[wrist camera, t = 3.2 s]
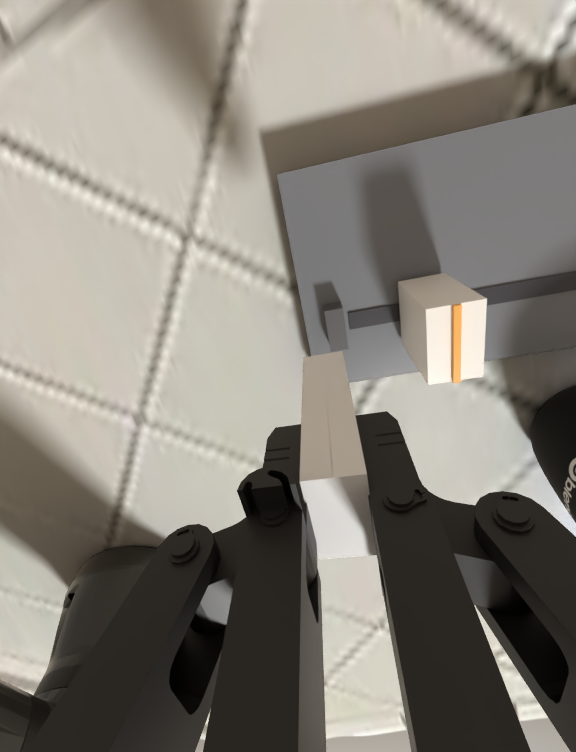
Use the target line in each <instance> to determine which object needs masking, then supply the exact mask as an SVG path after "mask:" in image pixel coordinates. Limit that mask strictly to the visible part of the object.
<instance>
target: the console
mask: <svg viewBox="0 0 576 752" xmlns="http://www.w3.org/2000/svg"><path fill="white" fill-rule="evenodd" d="M277 179H278V184H279V190H280V195H281V200H282V205H283V211H284V216H285V221H286V226H287V232H288V237H289V242H290V247H291V253H292V258H293V263H294V269H295V274H296V279H297V284H298V290H299V295H300V300H301V305H302V311H303V316H304V321H305V326H306V332H307V337H308V342H309V348H310V353H311V356H315V355H321V354H327V353H334V352H340V351H342V352H343V357H344V362H345V367H346V372H347V377H348V382H349V383H350V382H356V381H363V380H369V379H375V378H382V377H388V376H394V375H401V374H407V373H414V372H420V371H419V370H418V368H417V366H416V365H415V363H414V362H413V360H412V359H411V357H410V355H409V354H408V352H407V351H406V349H405V348H404V346H403V344H402V339H401V323H400V308H399V293H398V282H399V281H404V280H409V279H414V278H420V277H425V276H430V275H436V274H441V273H445V274H447V275H449V276H450V277H452V278H454V279H455V280H457V281H459V282H460V283H462V284H464V285H465V286H467V287H469V288H470V289H472V290H474V291H475V292H477V293H479V294H480V295H482V296H483V297H485V298H487V309H486V330H485V351H484V361H490V360H496V359H503V358H509V357H515V356H522V355H528V354H534V353H541V352H547V351H553V350H560V349H566V348H572V347H576V104H575V105H570V106H566V107H562V108H557V109H553V110H549V111H545V112H540V113H536V114H532V115H528V116H523V117H519V118H515V119H511V120H506V121H502V122H498V123H494V124H489V125H485V126H481V127H477V128H472V129H468V130H464V131H459V132H455V133H451V134H447V135H442V136H438V137H434V138H430V139H425V140H421V141H417V142H413V143H408V144H404V145H400V146H396V147H391V148H387V149H383V150H379V151H374V152H370V153H366V154H361V155H357V156H353V157H349V158H344V159H340V160H336V161H332V162H327V163H323V164H319V165H315V166H310V167H306V168H302V169H298V170H293V171H289V172H285V173H281V174H277Z"/></svg>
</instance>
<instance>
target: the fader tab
mask: <svg viewBox="0 0 576 752" xmlns="http://www.w3.org/2000/svg"><path fill="white" fill-rule="evenodd" d="M398 293H399V308H400V323H401V339H402V344H403V346H404V348H405V349H406V351H407V352H408V354H409V355H410V357H411V359H412V360H413V362H414V363H415V365H416V366H417V368H418V370H419V371H420V373H421V374H422V376H423V377H424V379H425V381H426V382H427V384H428V385H431V384H437V383H444V382H451V381H452V382H453V383H460V382H461V380H464V379H470V378H477V377H483V373H484V351H485V330H486V309H487V298H485V297H483V296H482V295H480V294H479V293H477V292H475V291H474V290H472V289H470V288H469V287H467V286H465V285H464V284H462V283H460V282H459V281H457V280H455V279H454V278H452V277H450V276H449V275H447V274H445V273H441V274H436V275H430V276H425V277H420V278H414V279H409V280H404V281H399V282H398Z"/></svg>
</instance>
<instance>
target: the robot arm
mask: <svg viewBox="0 0 576 752" xmlns="http://www.w3.org/2000/svg"><path fill="white" fill-rule="evenodd" d="M237 492H238V495H239V497H240V500H241V503H242V506H243V508H244V511H245V514H246V518H244V519H243V520H242V521H240V522H239V523H237V524H235V525H233V526H231V527H228V528H226V529H223V530H220V531H218V532H215V533H213V534H212V532H211V531H210V530H209V529H208V528H207V527H205V526H202V525H200V524H196V525H187V526H185V527H182V528H180V529H177V530H176V531H175V532H173V533H172V534H170V535H169V536H168V537H167V538H166V539H165V540H164V541H163V543H162V544H161V545H160V546H159V548H158V549H155V548H148V547H121V548H115V549H110V550H106V551H103V552H101V553H98V554H96V555H94V556H93V557H91V558H90V559H88V560H87V561H86V562H85V563H84V564H83V565H82V567H81V568H80V570H79V571H78V573H77V575H76V577H75V578H74V580H73V582H72V583H71V585H70V587H69V589H68V591H67V594H66V596H65V600H64V605H63V606H64V608H63V611H62V614H61V618H60V621H59V625H58V629H57V633H56V637H55V641H54V645H53V650H52V654H51V658H50V662H49V665H48V668H47V671H46V673H45V675H44V677H43V679H42V681H41V682H40V684H39V686H38V688H37V690H36V692H35V694H34V695H31V694H29V693H28V692H25V691H23V690H21V689H19V688H17V687H15V686H12V685H10V684H8V683H6V682H4V681H2V680H0V752H195V750H196V747H197V744H198V742H199V739H200V736H201V734H202V731H203V728H204V725H205V723H206V720H207V717H208V714H209V712H210V717H209V722H208V728H207V733H206V739H205V744H204V749H203V752H326V732H325V701H324V670H323V640H322V609H321V581H320V577H319V573H318V569H317V553H318V557H319V560H322V559H334V558H345V557H357V556H369V555H377V558H378V564H379V571H380V578H381V586H382V593H383V596H384V600H385V606H386V612H387V617H388V623H389V628H390V634H391V639H392V645H393V651H394V656H395V662H396V667H397V673H398V679H399V684H400V690H401V695H402V701H403V707H404V712H405V718H406V723H407V729H408V734H409V739H410V745H411V751H412V752H531V751H530V748H529V746H528V743H527V741H526V738H525V735H524V733H523V731H522V728H521V725H520V723H519V720H518V717H517V715H516V712H515V710H514V707H513V704H512V702H511V699H510V697H509V694H508V692H507V689H506V686H505V684H504V681H503V679H502V676H501V674H500V671H499V668H498V666H497V663H496V661H495V658H494V656H493V653H492V650H491V648H490V645H489V643H488V640H487V638H486V635H485V632H484V630H483V627H482V625H481V622H480V620H479V617H478V614H477V612H476V609H475V607H474V605H476V607H477V609H478V610H479V612H480V613H481V615H482V616H483V618H484V619H485V621H486V622H487V624H488V625H489V627H490V629H491V630H492V632H493V633H494V635H495V636H496V638H497V639H498V641H499V642H500V644H501V645H502V647H503V649H504V650H505V652H506V653H507V655H508V656H509V658H510V659H511V661H512V662H513V664H514V665H515V667H516V668H517V670H518V672H519V673H520V675H521V676H522V678H523V679H524V681H525V682H526V684H527V685H528V687H529V688H530V690H531V691H532V693H533V695H534V696H535V698H536V699H537V701H538V702H539V704H540V705H541V707H542V708H543V710H544V711H545V713H546V714H547V716H548V718H549V719H550V721H551V722H552V724H553V725H554V727H555V728H556V730H557V731H558V733H559V734H560V736H561V737H562V739H563V741H564V742H565V743H566V745H567V747H568V748H569V750H570V751H571V752H576V537H575V536H574V535H573V534H572V533H571V532H570V531H569V530H568V529H566V528H565V527H564V526H563V525H562V524H561V523H560V522H559V521H558V520H557V519H556V518H554V517H553V516H552V515H551V514H550V513H549V512H548V511H547V510H546V509H545V508H544V507H542V506H541V505H539V504H538V503H536V502H535V501H534V500H532V499H530V498H528V497H525V496H522V495H520V494H517V493H511V492H503V491H501V492H494V493H489V494H487V495H485V496H483V497H481V498H480V499H479V501H478V502H477V504H476V505H468V504H462V503H455V502H451V501H447V500H444V499H441V498H439V497H437V496H435V495H433V494H432V493H430V492H429V491H428V490H427V489H426V488H425V487H424V486H423V485H422V483H421V481H420V480H419V477H418V474H417V472H416V469H415V466H414V464H413V461H412V458H411V456H410V453H409V450H408V448H407V445H406V444H405V440H404V437H403V434H402V432H401V429H400V426H399V424H398V421H397V420H396V419H395V418H394V417H393V416H392V415H390V414H389V413H388V412H387V411H386V412H379V413H372V414H365V415H357V416H355V412H354V407H353V402H352V397H351V392H350V387H349V382H348V377H347V372H346V367H345V362H344V357H343V352H342V351H340V352H334V353H327V354H321V355H315V356H309V357H303V385H302V418H301V424H300V425H292V426H285V427H278V428H275V429H274V430H273V432H272V433H271V435H270V436H269V437H268V439H267V445H266V453H265V457H264V464H263V468H261V469H258V470H256V471H254V472H252V473H251V474H249V475H248V476H247V477H246V478H245V479H244V480H243V481H242V482H241V483H240V485H239V488H238V490H237ZM210 709H211V711H210Z"/></svg>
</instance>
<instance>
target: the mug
mask: <svg viewBox="0 0 576 752" xmlns="http://www.w3.org/2000/svg"><path fill="white" fill-rule="evenodd" d="M531 442H532V447H533V450H534V453H535V455H536V458H537V460H538V462H539V464H540V466H541V468H542V470H543V472H544V474H545V476H546V477H547V479H548V481H549V482H550V484H551V486H552V487H553V489H554V491H555V492H556V494H557V495H558V497H559V499H560V500H561V502H562V503H563V505H564V506H565V508H566V509H567V511H568V512H569V514H570V515H571V517H572V518H573V520H574V521H575V522H576V386H573V387H571V388H568V389H566V390H564V391H562V392H560V393H558V394H556V395H555V396H553V397H552V398H551V399H550V400H548V401H547V402H546V403H545V404H544V405H543V406H542V407H541V409H540V410H539V411H538V413H537V414H536V416H535V418H534V420H533V423H532V427H531Z"/></svg>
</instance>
